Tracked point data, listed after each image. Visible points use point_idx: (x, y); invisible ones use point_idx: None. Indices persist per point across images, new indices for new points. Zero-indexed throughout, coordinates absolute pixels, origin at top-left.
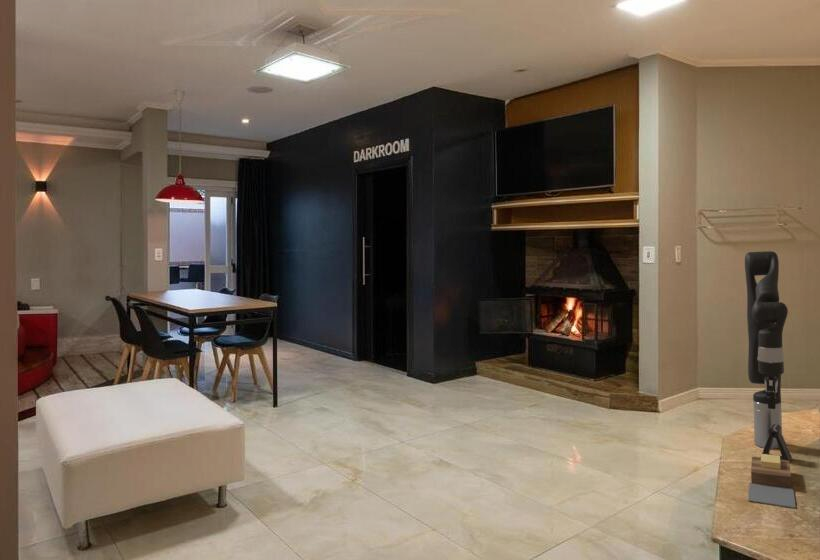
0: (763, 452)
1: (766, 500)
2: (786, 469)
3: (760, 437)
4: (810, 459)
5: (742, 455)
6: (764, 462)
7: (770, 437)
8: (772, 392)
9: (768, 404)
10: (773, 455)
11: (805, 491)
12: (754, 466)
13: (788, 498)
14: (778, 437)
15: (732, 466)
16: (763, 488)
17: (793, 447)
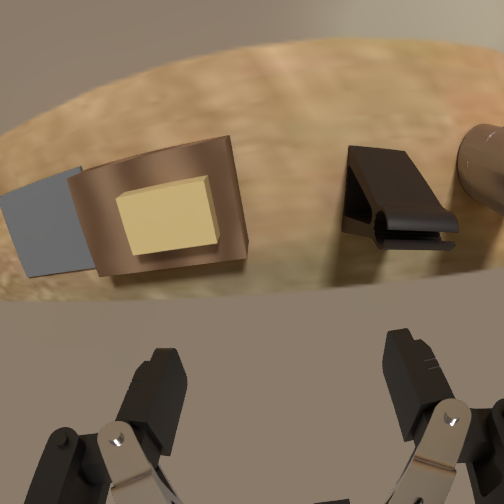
0: (355, 159)
1: (16, 227)
2: (151, 260)
3: (481, 147)
4: (400, 274)
5: (355, 86)
6: (120, 208)
7: (373, 203)
8: (409, 426)
9: (148, 373)
10: (207, 224)
11: (122, 286)
12: (116, 173)
13: (52, 262)
14: (370, 236)
15: (207, 77)
16: (66, 206)
17: (485, 227)
